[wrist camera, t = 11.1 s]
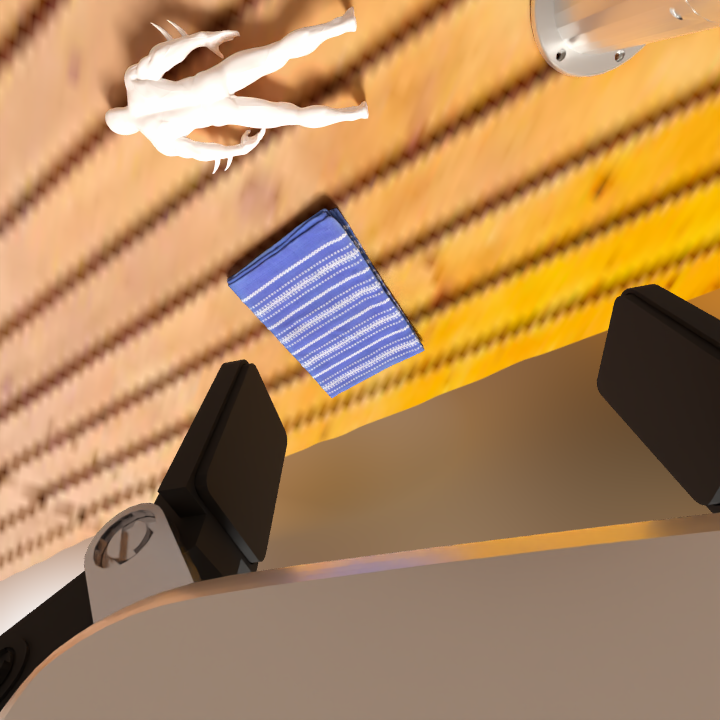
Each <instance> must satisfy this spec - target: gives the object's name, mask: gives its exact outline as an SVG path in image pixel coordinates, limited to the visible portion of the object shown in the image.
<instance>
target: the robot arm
mask: <svg viewBox="0 0 720 720" xmlns="http://www.w3.org/2000/svg"><path fill="white" fill-rule="evenodd" d="M531 25H532V30H533V34H534V39H535V42H536V44H537V47H538V49H539V51H540V54H541V55H542V56H543V58H544V59H545V60H546V62H547V63H548V64H549V65H550V66H551V67H553V68H554V69H555V70H556V71H558V72H560V73H562V74H565V75H567V76H573V77H590V76H595V75H599V74H603V73H606V72H608V71H610V70H613V69H615V68H617V67H619V66H620V65H622V64H623V63H625V62H626V61H628V60H629V59H631V58H632V57H633V56H634V55H635V54H636V53H638V52H639V51H640V50H641V49H642V48H643V47H644V46H645V45H646V44H647V43H651V42H656V41H660V40H664V39H669V38H673V37H677V36H682V35H686V34H690V33H695V32H699V31H703V30H708V29H712V28H716V27H720V0H531ZM557 53H558V54H559V57H558V59H556V55H557ZM615 55H616V59H615ZM597 387H598V390H599V392H600V394H601V395H602V396H603V397H604V398H605V400H606V401H607V402H608V403H609V404H610V405H611V407H612V408H613V409H614V410H615V411H616V412H617V413H618V414H619V416H620V417H621V418H622V419H623V420H624V421H625V422H626V423H627V425H628V426H629V427H630V428H631V429H632V430H633V431H634V432H635V434H636V435H637V436H638V437H639V438H640V439H641V440H642V442H643V443H644V444H645V445H646V446H647V447H648V448H649V449H650V451H651V452H652V453H653V454H654V455H655V456H656V457H657V459H658V460H659V461H660V462H661V463H662V464H663V465H664V466H665V467H666V468H667V470H668V471H669V472H670V473H671V474H672V475H673V476H674V478H675V479H676V480H677V481H678V482H679V483H680V485H681V486H682V487H683V488H684V489H685V490H686V491H687V492H688V494H690V496H691V497H692V498H693V499H694V500H695V501H696V502H698V503H699V504H702V505H706V506H707V507H708V508H709V510H710V511H711V512H712V514H703V515H695V516H687V517H679V518H670V519H662V520H653V521H645V522H636V523H628V524H620V525H611V526H604V527H595V528H588V529H579V530H571V531H563V532H556V533H546V534H539V535H530V536H522V537H515V538H507V539H498V540H490V541H482V542H474V543H466V544H458V545H451V546H442V547H434V548H427V549H419V550H411V551H404V552H396V553H389V554H380V555H373V556H365V557H357V558H350V559H343V560H335V561H327V562H319V563H312V564H304V565H297V566H291V567H284V568H278V569H270V570H263V571H257V566H258V562H261V561H263V560H264V558H265V555H266V550H267V545H268V539H269V535H270V530H271V524H272V519H273V514H274V509H275V503H276V498H277V493H278V488H279V483H280V477H281V473H282V467H283V462H284V457H285V452H286V447H287V435H286V432H285V429H284V427H283V425H282V423H281V420H280V418H279V416H278V414H277V412H276V409H275V407H274V405H273V403H272V401H271V398H270V396H269V394H268V392H267V390H266V387H265V385H264V383H263V381H262V379H261V376H260V374H259V372H258V370H257V368H256V366H255V365H254V364H253V363H251V364H249V363H248V362H247V361H246V360H238V361H233V362H228V363H224V364H223V365H222V366H221V368H220V370H219V372H218V374H217V376H216V378H215V380H214V382H213V383H212V385H211V387H210V389H209V391H208V393H207V395H206V397H205V399H204V401H203V403H202V405H201V407H200V409H199V411H198V413H197V415H196V417H195V419H194V421H193V423H192V425H191V427H190V429H189V430H188V432H187V434H186V436H185V438H184V440H183V442H182V444H181V446H180V448H179V450H178V452H177V454H176V456H175V458H174V460H173V462H172V464H171V466H170V468H169V470H168V472H167V474H166V476H165V477H164V479H163V481H162V483H161V485H160V487H159V489H158V492H159V495H158V497H157V499H156V501H155V503H154V504H152V503H143V504H138V505H135V506H132V507H130V508H128V509H126V510H124V511H122V512H121V513H119V514H118V515H116V516H115V517H114V518H112V519H111V520H110V521H109V522H107V523H106V524H105V525H104V526H103V528H102V529H101V530H100V531H99V532H98V533H97V534H96V536H95V537H94V539H93V540H92V542H91V543H90V545H89V547H88V549H87V552H86V554H85V561H84V568H85V571H84V572H82V573H81V574H80V575H79V576H77V577H76V578H75V579H73V580H72V581H71V582H70V583H68V584H67V585H66V586H64V587H63V588H62V589H60V590H59V591H58V592H57V593H55V594H54V595H53V596H52V597H50V598H49V599H47V600H46V601H45V602H44V603H42V604H41V605H40V606H39V607H37V608H36V609H35V610H33V611H32V612H31V613H29V614H28V615H27V616H25V617H24V618H23V619H22V620H20V621H19V622H18V623H16V624H15V625H14V626H13V627H11V628H10V629H9V630H7V631H6V632H5V633H3V634H2V635H1V636H0V720H720V320H719V319H717V318H715V317H713V316H712V315H710V314H708V313H706V312H704V311H703V310H701V309H699V308H698V307H696V306H694V305H692V304H690V303H689V302H687V301H685V300H683V299H682V298H680V297H678V296H676V295H674V294H673V293H671V292H669V291H667V290H666V289H664V288H662V287H660V286H658V285H655V284H651V285H645V286H640V287H634V288H629V289H626V290H625V291H624V292H623V293H622V294H621V296H619V297H617V298H616V300H615V302H614V307H613V311H612V316H611V320H610V325H609V329H608V334H607V338H606V342H605V348H604V351H603V356H602V361H601V365H600V370H599V374H598V378H597ZM256 571H257V572H256Z"/></svg>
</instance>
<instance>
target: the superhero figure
mask: <svg viewBox="0 0 720 720" xmlns="http://www.w3.org/2000/svg"><path fill="white" fill-rule="evenodd" d="M167 21H168V22H170V23H171V24H172V25H173V26H174V27H175V28H176V29H177V30H178V31H179V32H180V34H181V35H182V37H179V38H175V39H173V38H172V36H171V35H170V34H169V33H168V32H167V31H165V30H164V29H163V28H161V27H160V26H158V25H156V24H154V23H151V24H153V25H154V26H155V27H156V28H157V29H159V30H160V31H161V33H162V34H163V35H164V36H165V37H166V39H167V40H168V41H165V42H162V43H159V44H157V45H155V46H154V47H153V48H152V49H151V50H150V52H149V55H148V56H146V57H143V58H142V59H141V60H140V61H139V62H138V64H134V65H131V66H130V67H128V68H127V70H126V72H125V76H124V81H125V86H126V89H127V102H128V106H126V107H116V108H113V109H110V110H108V111H107V112H106V115H105V119H106V123H107V125H108V127H109V128H110V129H111V130H112V131H113V132H115V133H117V134H122V135H129V134H134V133H136V132H138V131H139V130H140V131H141V132H142V133H143V134H144V135H145V136H146V137H147V138H148V139H149V140H150V141H151V142H152V144H153V145H154V146H155V148H156V149H157V150H158V151H159V152H161V153H162V154H164V155H167V156H180V157H183V158H194V159H196V160H200V161H210V160H215V168H214V171H213V173H214V172H215V171H216V170H217V168H218V166H219V164H220V159H224V158H228V163H227V167H226V169H225V170H227V168H228V167H229V166H230V164H231V162H232V158H233V156H238V155H245V154H247V153H248V152H250V151H251V150H252V149H253V148H254V147H256V145H257V144H258V143H259V140H261V139H262V137H263V135H264V134H265V129H266V128H275V127H279V126H284V125H302V126H305V127H309V128H319V127H324V126H327V125H330V124H333V123H337V122H341V121H347V120H348V121H354V120H357V119H360V118H363V119H366V118H368V107H367V103H366V101H363V102H362V103H361V104H360V105H359V106H352V107H348V108H341V109H336V108H331V107H328V106H324V105H312V106H308V107H304V108H300V107H298V106H296V105H294V104H292V103H288V102H271V101H268V100H264V99H259V98H253V97H238V96H235V94H234V93H235V92H237V91H239V90H241V89H243V88H244V87H246V86H248V85H250V84H251V83H253V82H255V81H256V80H258V79H259V78H260V77H262V76H265V75H267V74H270V73H272V72H275V71H277V70H278V69H280V68H282V67H283V66H284V65H285V64H286V63H287V61H288V60H289V59H290V58H297V57H302V56H305V55H308V54H310V53H311V52H313V51H314V50H315V49H316V48H317V47H318V46H319V45H320V44H321V43H322V42H323V41H325V40H327V39H329V38H332V37H335V36H338V35H341V34H343V33H345V32H354V31H356V29H357V24H356V18H355V16H354V8H353V7H350V8H349V9H348V10H347V11H346V12H345V14H344V15H343V16H341V17H337V18H335V19H333V20H332V21H330V22H327V23H324V24H319V25H315V26H310V27H304V28H300V29H297V30H294V31H292V32H290V33H289V34H287V35H286V36H285V37H284V38H282V39H281V40H280V41H277V42H274V43H272V44H269V45H266V46H262V47H256V48H251V49H246V50H242V51H239V52H236V53H234V54H232V55H230V56H229V57H227V58H226V59H225V60H223V61H222V62H220V63H219V64H217V65H215V66H213V67H211V68H210V69H208V70H205V71H201V72H199V73H197V74H196V75H195V76H193V77H187V78H184V79H182V80H179V81H171V80H167V79H163V78H162V77H163V75H164V73H165V72H167V71H168V70H170V69H171V68H172V67H173V66H175V65H176V64H178V63H180V62H182V61H183V60H184V59H185V58H186V57H187V55H188V54H189V53H190V52H191V51H192V50H193V49H195V48H197V47H204V46H206V47H207V48H208V49H210V50H211V51H212V52H214V53H215V54H216V55H218V56H219V57H221V58H222V59H223V57H224V56H223V54H222V53H221V52H220V51H219V45H220V44H222V43H223V42H226V41H232V40H233V39H234V38H233V37H237V36H240V35H239V32H238V31H233V30H232V31H231V30H223V31H216V32H209V31H206V32H204V31H201V32H198V33H195V34H191V35H188V34H187V33H186V32H185V31H184V30H183V29H182V28H181V27H179V26H178V25H177V24H175V23H173V22H171V21H169V20H167ZM228 124H232V125H241V126H246V127H252V128H262V129H261V130H260V132H259V133H258V134H256V135H255V136H252V137H248V135H249V134H250V132H251V130H247V131H246V132H245V133H244V134H243V135H242V137H241V143H240V144H237V145H234V146H224V145H221V144H218V143H204V142H198V141H194V140H192V139H190V138H187V137H186V136H187V135H189V134H190V133H191V132H192V131H193V130H194V129H196V128H204V127H209V126H212V125H214V126H224V125H228ZM213 173H212V174H213Z"/></svg>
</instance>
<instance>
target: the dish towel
mask: <svg viewBox="0 0 720 720" xmlns="http://www.w3.org/2000/svg"><path fill="white" fill-rule="evenodd" d="M227 282H228V286H229V287H230V288H231V289H232V290H233V291H234V292H235V294H236V295H237V296H238V297H239V298H240V299H241V301H242V302H243V303H244V304H246V305H247V306H248V308H249V309H250V310H251V311H252V312H253V313H254V314H255V315H256V316H257V318H258V319H259V320H260V321H261V322H262V323H263V324H264V325H265V326H266V327H267V328H268V329H269V330H270V331H271V332H272V333H273V334H274V336H275V337H276V338H277V339H278V340H279V341H280V342H281V343H282V344H283V345H284V346H285V348H286V349H287V350H288V351H289V352H290V353H291V354H292V355H293V356H294V357H295V358H296V359H297V360H298V361H299V362H300V364H301V365H302V366H303V367H304V368H305V369H306V370H307V371H308V372H309V373H310V375H311V376H312V377H313V378H314V379H315V380H316V381H317V382H318V384H319V385H320V386H321V387H322V388H323V389H324V390H325V391H326V392H327V394H329V396H330V397H331V398H333V397H335V396H336V395H337V394H339V393H341V392H343V391H345V390H347V389H349V388H350V387H352V386H354V385H356V384H358V383H360V382H361V381H363V380H365V379H367V378H369V377H371V376H373V375H375V374H377V373H379V372H380V371H382V370H384V369H386V368H388V367H390V366H392V365H394V364H396V363H398V362H401V361H403V360H405V359H407V358H409V357H411V356H414V355H415V354H418V353H420V352H422V351H424V347H423V345H422V344H421V342H420V340H419V338H418V337H417V335H416V333H415V332H414V330H413V328H412V326H411V325H410V323H409V321H408V319H407V318H406V317H405V315H404V313H403V312H402V310H401V309H400V307H399V305H398V304H397V303H396V301H395V300H394V299H393V297H392V295H391V293H390V292H389V290H388V289H387V288H386V286H385V284H384V283H383V281H382V279H381V277H380V276H379V274H378V273H377V272H376V270H375V268H374V267H373V265H372V263H371V261H370V259H369V258H368V257H367V255H366V253H365V251H364V249H363V248H362V245H361V244H360V242H359V241H358V239H357V238H356V237H355V234H354V233H353V231H352V229H351V228H350V226H349V224H348V223H347V221H346V220H345V219H344V217H343V216H342V214H341V213H340V211H339V210H338V209H337V208H335V209H332V210H329V211H328V210H327V209H325V208H324V209H322V210H320V211H319V212H318V213H316V214H315V215H313V216H312V217H310V218H309V219H308V220H306V221H304V222H303V223H301V224H300V225H299V226H297V227H296V228H294V229H293V230H292V231H291V232H289V233H288V234H287V235H286V236H285V237H283V238H282V239H281V240H280V241H278V242H277V243H276V244H274V245H273V246H271V247H270V248H269V249H267V250H266V251H264V252H263V253H262V254H260V255H259V256H258V257H257V258H255V259H254V260H253V261H252V262H250V263H249V264H248V265H247V266H246V267H244V268H243V269H241V270H240V271H239V272H238V273H236V274H234V275H233V276H231V277H229V278H228V279H227Z"/></svg>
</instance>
